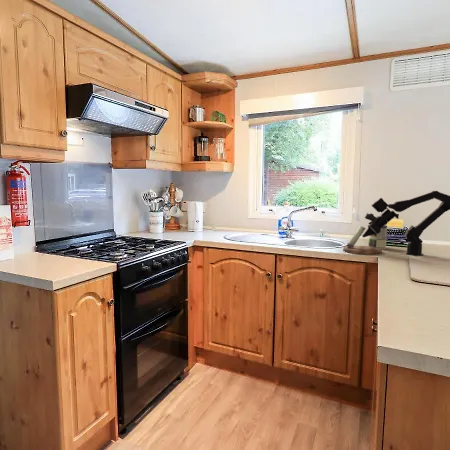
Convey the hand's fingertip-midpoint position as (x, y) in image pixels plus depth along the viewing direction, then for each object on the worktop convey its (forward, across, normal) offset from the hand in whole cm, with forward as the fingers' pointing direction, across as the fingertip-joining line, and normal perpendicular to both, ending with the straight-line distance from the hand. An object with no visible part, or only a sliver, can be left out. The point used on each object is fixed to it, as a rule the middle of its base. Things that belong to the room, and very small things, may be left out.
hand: (362, 236), depth 195 cm
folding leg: (+9, 0, 0) cm, 9 cm away
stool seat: (+6, 0, +6) cm, 9 cm away
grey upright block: (0, -19, +13) cm, 23 cm away
